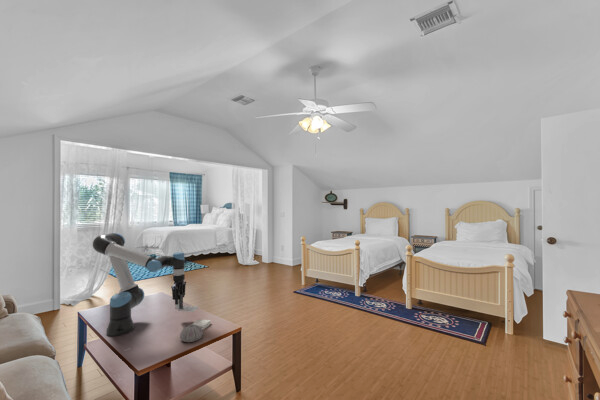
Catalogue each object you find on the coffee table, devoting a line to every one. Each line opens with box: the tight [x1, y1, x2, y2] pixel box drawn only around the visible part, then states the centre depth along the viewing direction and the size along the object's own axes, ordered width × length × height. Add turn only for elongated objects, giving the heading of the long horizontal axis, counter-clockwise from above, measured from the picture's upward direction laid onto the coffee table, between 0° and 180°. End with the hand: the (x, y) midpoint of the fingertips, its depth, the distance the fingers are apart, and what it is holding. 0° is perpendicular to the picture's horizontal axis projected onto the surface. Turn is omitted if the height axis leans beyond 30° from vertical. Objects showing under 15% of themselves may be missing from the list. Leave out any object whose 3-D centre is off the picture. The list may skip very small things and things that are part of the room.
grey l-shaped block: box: [177, 293, 199, 313], centre depth 194 cm, size 7×15×10 cm, turn 77°
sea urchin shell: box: [179, 323, 204, 343], centre depth 168 cm, size 13×14×8 cm
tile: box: [190, 318, 212, 331], centre depth 185 cm, size 10×3×9 cm
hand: (179, 307), depth 195 cm, fingers closed on grey l-shaped block, 3 cm apart
